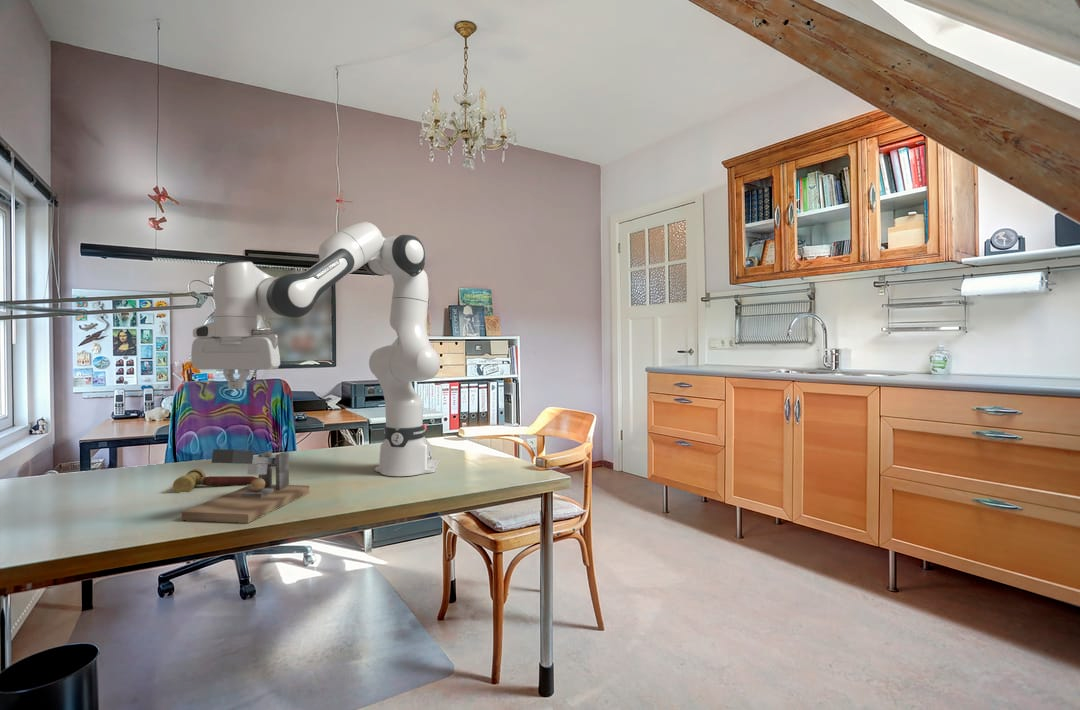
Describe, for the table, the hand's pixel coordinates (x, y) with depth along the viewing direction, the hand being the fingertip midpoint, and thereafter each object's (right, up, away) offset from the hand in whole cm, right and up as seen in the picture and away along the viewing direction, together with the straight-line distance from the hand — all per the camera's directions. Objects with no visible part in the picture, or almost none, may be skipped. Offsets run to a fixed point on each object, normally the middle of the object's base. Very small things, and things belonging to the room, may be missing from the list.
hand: (236, 389), depth 123 cm
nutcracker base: (+1, -29, +5) cm, 29 cm away
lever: (+1, -21, +4) cm, 21 cm away
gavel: (-17, -29, +24) cm, 41 cm away
